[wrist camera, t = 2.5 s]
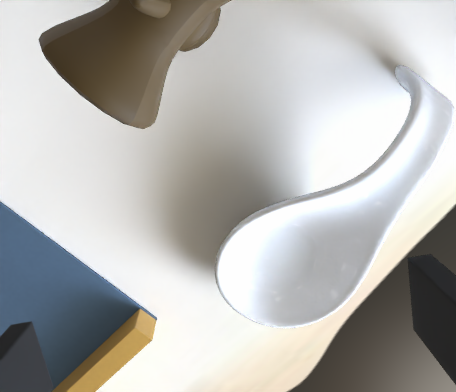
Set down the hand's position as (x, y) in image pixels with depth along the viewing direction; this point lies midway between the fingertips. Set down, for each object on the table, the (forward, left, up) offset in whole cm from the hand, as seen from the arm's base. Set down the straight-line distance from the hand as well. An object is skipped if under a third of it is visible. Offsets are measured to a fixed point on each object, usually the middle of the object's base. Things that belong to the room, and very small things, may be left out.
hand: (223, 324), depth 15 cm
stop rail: (+6, -24, -22) cm, 33 cm away
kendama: (-9, +6, -22) cm, 24 cm away
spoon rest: (+9, +3, -22) cm, 24 cm away
